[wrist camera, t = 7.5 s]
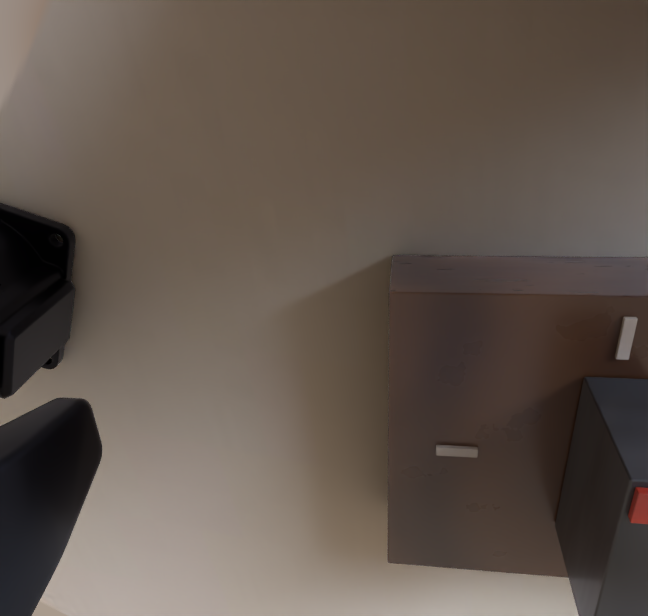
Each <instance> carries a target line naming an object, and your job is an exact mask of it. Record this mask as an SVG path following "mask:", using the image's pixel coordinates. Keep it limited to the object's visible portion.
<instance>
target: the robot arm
mask: <svg viewBox="0 0 648 616" xmlns="http://www.w3.org/2000/svg"><path fill="white" fill-rule="evenodd" d="M56 234H58V235H60V236H61V237H62V239H63V243H62V242H60V241H58V239H57V238H56ZM74 248H75V235H74V233H73V231H72V230H71V229H70V228H69V227H68V226H66V225H64V224H61V223H58V222H55V221H53V220H50V219H47V218H44V217H41V216H38V215H35V214H32V213H29V212H26V211H23V210H20V209H17V208H15V207H12V206H9V205H6V204H3V203H0V398H4V399H5V398H7V397H9V396H11V395H13V394H14V393H15V392H16V391H17V390H18V389H19V388H20V387H21V386H22V385H23V384H24V383H25V382H26V381H27V380H28V379H29V378H30V377H31V376H32V375H33V374H34V373H35V372H36V371H37V370H38V369H39V368H40V367H42V368H45V369H54V368H55V367H56V366H57V365H58V364H59V363H60V362H61V361H62V359H63V353H64V344H65V343H66V342H67V341H68V340H69V338H70V331H71V322H72V313H73V304H74V295H75V287H74V285H73V283H72V282H71V276H72V267H73V257H74ZM51 358H52V359H51ZM101 456H102V443H101V439H100V435H99V432H98V428H97V425H96V421H95V418H94V414H93V410H92V407H91V405H90V404H89V402H88V401H87V400H84V399H80V398H56V399H54V400H52V401H50V402H48V403H46V404H44V405H42V406H40V407H38V408H36V409H34V410H32V411H30V412H28V413H26V414H24V415H22V416H20V417H18V418H16V419H14V420H12V421H10V422H8V423H6V424H4V425H2V426H0V616H32V614H33V612H34V610H35V608H36V606H37V604H38V602H39V600H40V598H41V597H42V595H43V593H44V591H45V589H46V587H47V585H48V583H49V581H50V579H51V577H52V575H53V573H54V571H55V569H56V567H57V565H58V563H59V561H60V559H61V557H62V555H63V552H64V550H65V548H66V546H67V543H68V541H69V538H70V536H71V533H72V531H73V528H74V526H75V523H76V521H77V518H78V516H79V513H80V511H81V508H82V506H83V503H84V501H85V499H86V496H87V494H88V491H89V489H90V486H91V484H92V481H93V479H94V476H95V474H96V471H97V469H98V466H99V464H100V461H101Z"/></svg>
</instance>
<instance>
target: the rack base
mask: <svg viewBox="0 0 648 616" xmlns="http://www.w3.org/2000/svg"><path fill="white" fill-rule="evenodd" d="M584 377H603V378H628V379H648V257H537V256H425V255H393V256H392V265H391V277H390V289H389V407H388V563H396V564H408V565H421V566H433V567H445V568H457V569H469V570H482V571H494V572H506V573H518V574H530V575H543V576H555V577H567V578H569V577H568V573H567V569H566V566H565V562H564V558H563V554H562V551H561V547H560V543H559V540H558V536H557V532H556V528H555V523H556V518H557V513H558V507H559V502H560V497H561V492H562V487H563V482H564V477H565V472H566V467H567V461H568V456H569V451H570V446H571V441H572V436H573V431H574V426H575V421H576V415H577V410H578V405H579V400H580V395H581V390H582V385H583V380H584Z"/></svg>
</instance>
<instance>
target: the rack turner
mask: <svg viewBox="0 0 648 616" xmlns="http://www.w3.org/2000/svg"><path fill="white" fill-rule="evenodd" d="M555 528H556V532H557V536H558V540H559V543H560V547H561V551H562V554H563V558H564V562H565V566H566V569H567V573H568V577H569V581H570V584H571V588H572V592H573V595H574V599H575V603H576V607H577V610H578V614H579V616H648V379H628V378H603V377H584V380H583V385H582V390H581V395H580V400H579V405H578V410H577V415H576V421H575V426H574V431H573V436H572V441H571V446H570V451H569V456H568V461H567V467H566V472H565V477H564V482H563V487H562V492H561V497H560V502H559V507H558V513H557V518H556V523H555Z"/></svg>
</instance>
